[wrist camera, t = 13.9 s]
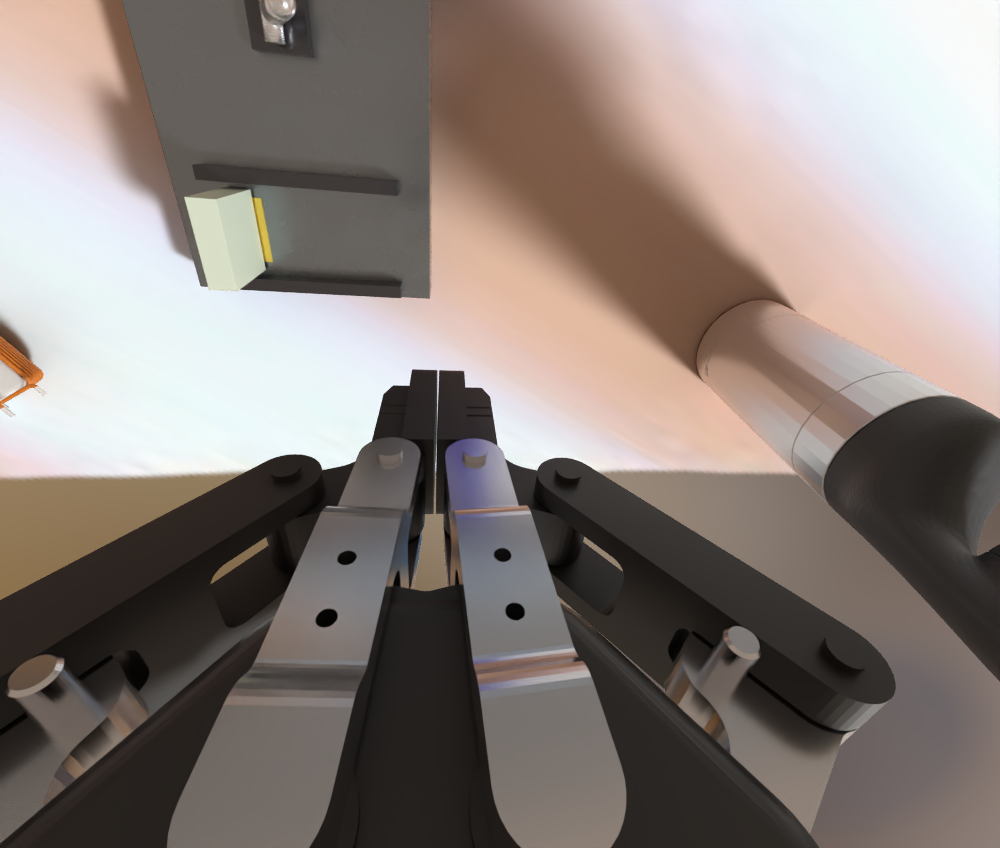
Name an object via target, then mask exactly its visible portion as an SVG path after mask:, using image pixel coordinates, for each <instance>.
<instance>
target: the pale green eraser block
mask: <svg viewBox="0 0 1000 848" xmlns="http://www.w3.org/2000/svg"><path fill="white" fill-rule="evenodd" d="M184 198H185V202H186V206H187V209H188V213H189V217H190V220H191V224H192V228H193V232H194V235H195V239H196V243H197V247H198V250H199V254H200V258H201V262H202V265H203V269H204V273H205V277H206V280H207V284H208V288H209V290H223V291H239V290H240V289H241V288H243V287H244V286H245V285H246V284H248V283H249V282H250V281H252V280H253V279H254V278H256V277H257V276H258V275H260V274H261V273H262V272H264V271H265V270H266V268H265V263H264V258H263V253H262V248H261V243H260V237H259V232H258V227H257V222H256V217H255V212H254V207H253V201H252V196H251V191H250V189H239V188H227V187H222V188H218V189H214V190H210V191H206V192H202V193H198V194H194V195H190V196H186V197H184Z"/></svg>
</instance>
